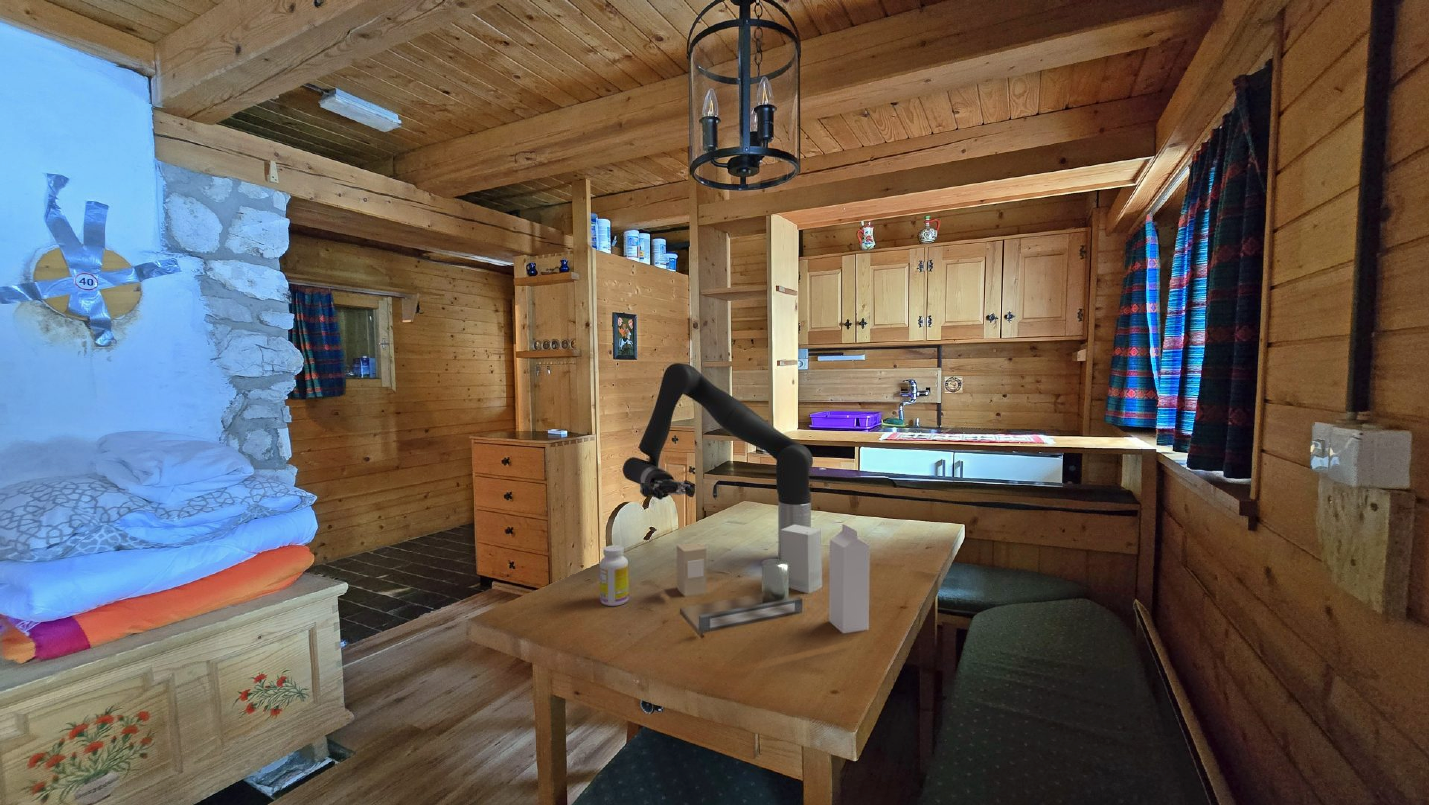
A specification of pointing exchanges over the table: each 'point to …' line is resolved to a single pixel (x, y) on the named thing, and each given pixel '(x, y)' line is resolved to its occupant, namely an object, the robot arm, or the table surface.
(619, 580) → the supplement bottle
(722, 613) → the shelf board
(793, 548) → the skincare box
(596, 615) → the table surface
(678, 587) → the kraft carton
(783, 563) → the oat tin
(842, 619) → the milk
